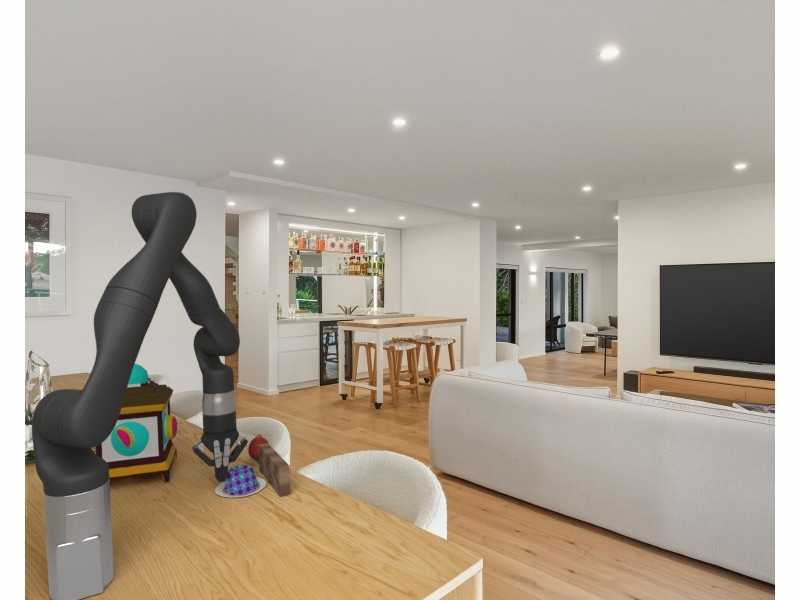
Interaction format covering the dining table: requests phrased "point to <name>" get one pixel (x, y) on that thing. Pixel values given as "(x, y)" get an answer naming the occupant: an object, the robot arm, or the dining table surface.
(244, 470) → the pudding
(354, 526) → the dining table surface
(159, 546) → the dining table surface
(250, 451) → the onion
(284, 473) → the walnut board
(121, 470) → the decorative lantern
